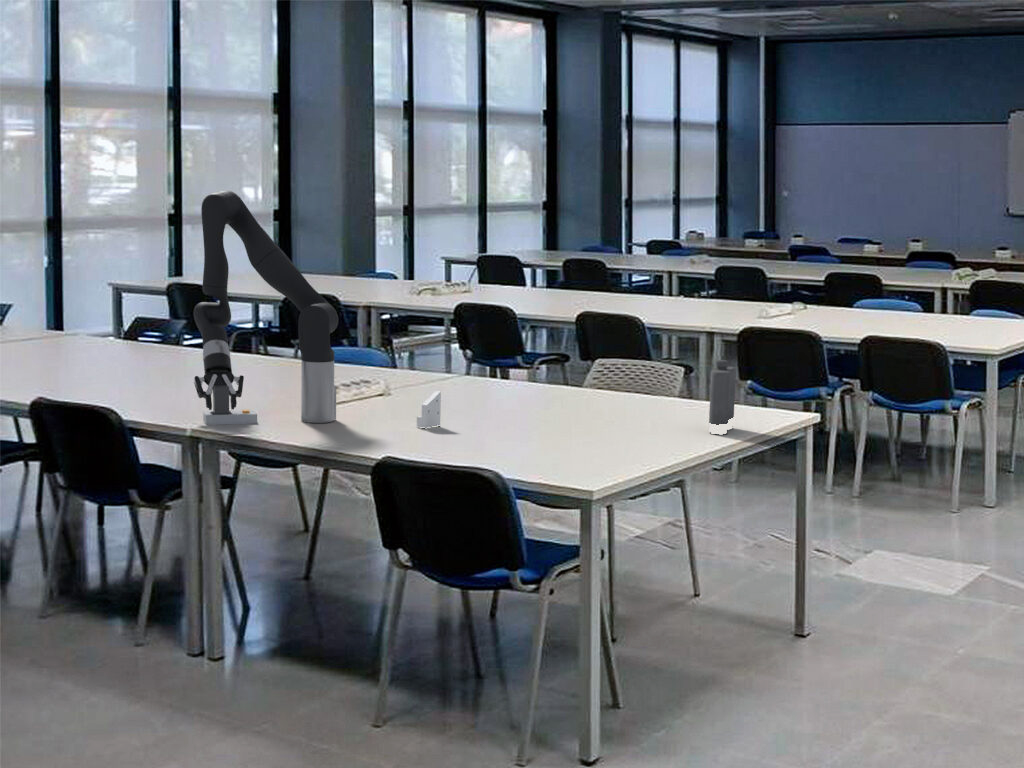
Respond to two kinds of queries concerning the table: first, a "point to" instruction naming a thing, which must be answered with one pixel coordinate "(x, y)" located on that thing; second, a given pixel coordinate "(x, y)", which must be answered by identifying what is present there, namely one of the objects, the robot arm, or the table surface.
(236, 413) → the power strip
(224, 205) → the robot arm
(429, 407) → the white angled block
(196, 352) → the table surface
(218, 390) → the plug
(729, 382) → the flask
